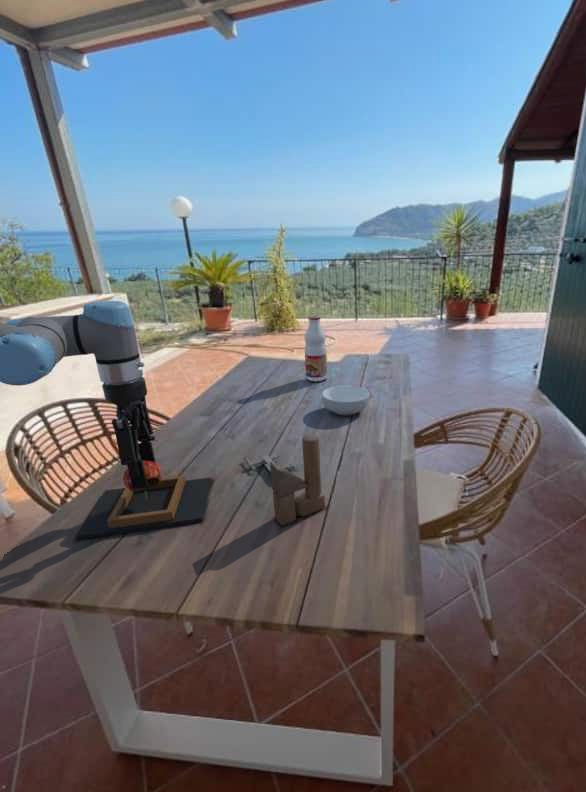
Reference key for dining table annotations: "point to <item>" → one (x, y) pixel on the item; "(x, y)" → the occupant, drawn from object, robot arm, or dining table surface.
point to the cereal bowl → (345, 399)
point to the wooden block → (298, 485)
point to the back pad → (148, 507)
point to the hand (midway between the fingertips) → (145, 477)
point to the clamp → (267, 463)
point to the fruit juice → (315, 349)
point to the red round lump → (151, 473)
